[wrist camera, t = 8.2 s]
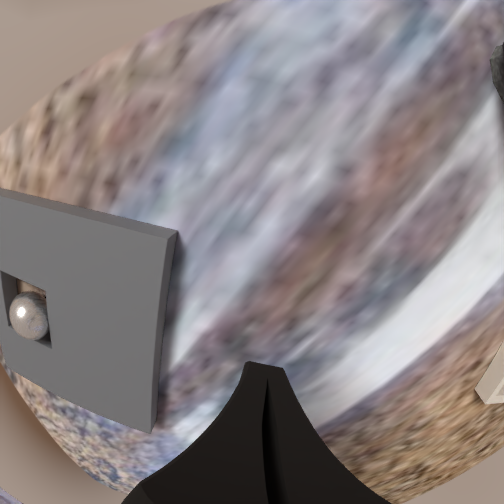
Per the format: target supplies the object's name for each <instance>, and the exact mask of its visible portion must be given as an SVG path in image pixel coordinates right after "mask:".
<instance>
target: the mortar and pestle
mask: <svg viewBox="0 0 504 504" xmlns="http://www.w3.org/2000/svg"><path fill="white" fill-rule="evenodd" d="M490 63H491V70H492V77H493V83H494V85H495V87H496V89H497V91H498V93H499V94H500V97H501V99H502V101H503V103H504V43H503V45H501V46H497V47H496V49H495V51H494V52H493V54H492V56H491V58H490Z"/></svg>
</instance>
